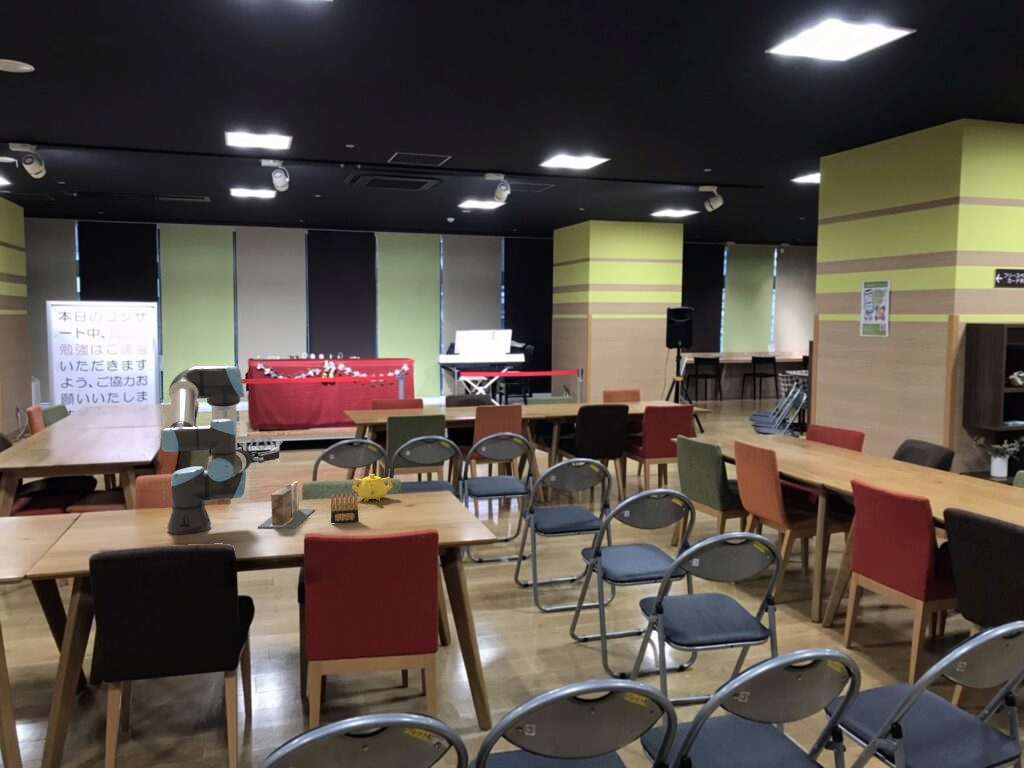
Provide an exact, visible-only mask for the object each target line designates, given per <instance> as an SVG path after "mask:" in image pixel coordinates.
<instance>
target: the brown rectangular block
mask: <svg viewBox="0 0 1024 768" xmlns="http://www.w3.org/2000/svg"><path fill="white" fill-rule="evenodd" d="M270 499H271V516H272V525H284V524H286V523H287V522H288V521H289V520H290V519H291V504H290V489H285V488H281V489H278V490H276V491H274V492H272V493H271V498H270Z"/></svg>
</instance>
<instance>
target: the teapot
mask: <svg viewBox="0 0 1024 768" xmlns="http://www.w3.org/2000/svg"><path fill="white" fill-rule="evenodd" d="M368 475H369V476H365V477H364V478H354V480H353V483H352V486H351V489H352V490H353V491H355V492H356V493H357V496H359V497H360V498H361V499H364V500H363V502H369V500H375V501H376V500H380V499H382V498H384V497H385V496H386V495H387V493H388V491H390V489H392V488H393V487H394V485H393V484H392V481H391V478H390V476H387V477H383V478H382V477H381V476H377V475H376V474H375V473H369V474H368ZM385 481H387V485H386V484H385ZM358 482H359V486H357V483H358Z"/></svg>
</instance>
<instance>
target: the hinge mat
mask: <svg viewBox="0 0 1024 768" xmlns="http://www.w3.org/2000/svg"><path fill="white" fill-rule="evenodd" d="M314 510H315V508H299V510H298V511H297V512H296V513H295V514H293V515H292V517H291V519H290V520H289V521H288V522H287V523H286V524H284V525H272V515H271V516H270V517H269V518H268V519H266V520H265V521H263V522H262V523H261V524H259V525H258V526H257V528H258V529H282V528H294V529H296V528H297V527H298V526H299V525H300V524H301V523H303V521H305V520H306V519H307V518H308V517H309V516H310V515H312V514H313V513H314V512H315V511H316V510H315V511H314ZM313 511H314V512H313ZM312 512H313V513H312ZM309 514H310V515H309ZM308 515H309V516H308ZM307 516H308V517H307ZM306 517H307V518H306ZM305 518H306V519H305ZM304 519H305V520H304ZM300 522H301V523H300ZM298 524H299V525H298ZM297 525H298V526H297ZM296 526H297V527H296Z"/></svg>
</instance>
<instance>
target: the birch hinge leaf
mask: <svg viewBox="0 0 1024 768" xmlns="http://www.w3.org/2000/svg"><path fill="white" fill-rule="evenodd" d="M284 489H290V504H291V517H292V515H293V514H295V513H296V512H297V511H298V510H299V509H300V495H299V494H300V491H299V490H300V489H299V481H298V480H297V481H293V482H291V483H285V484H284Z"/></svg>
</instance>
